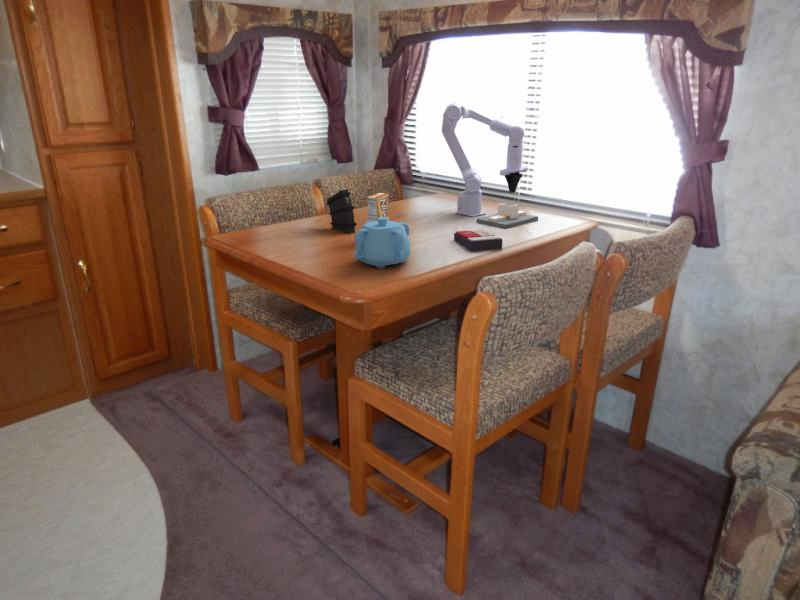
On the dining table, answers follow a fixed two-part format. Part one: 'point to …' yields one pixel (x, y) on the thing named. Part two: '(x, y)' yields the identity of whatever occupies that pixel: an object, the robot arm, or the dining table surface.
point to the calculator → (478, 240)
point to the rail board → (507, 220)
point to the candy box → (378, 206)
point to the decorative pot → (382, 243)
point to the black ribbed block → (342, 212)
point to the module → (508, 210)
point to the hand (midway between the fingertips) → (512, 192)
